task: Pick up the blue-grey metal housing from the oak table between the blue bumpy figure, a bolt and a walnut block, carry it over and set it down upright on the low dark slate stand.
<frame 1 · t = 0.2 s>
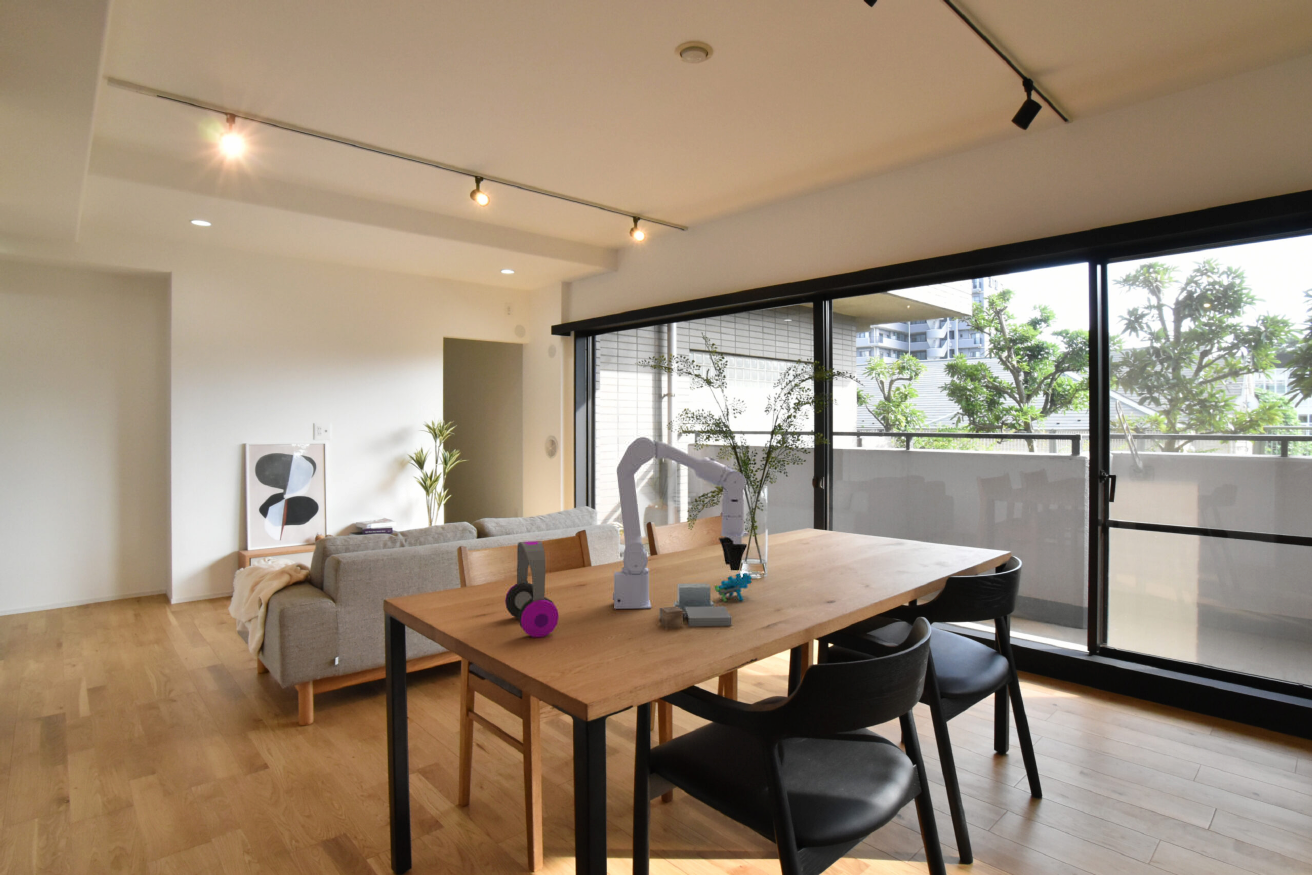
hand: (732, 567, 179), 10 cm above the table, tool pointing down, fingers open, 7 cm apart
bolt: (674, 619, 165), on the table
headphones: (530, 627, 159), on the table
housing: (693, 608, 175), on the table
stand: (707, 620, 165), on the table
blue bumpy figure: (733, 599, 186), on the table
walnut block: (671, 626, 160), on the table
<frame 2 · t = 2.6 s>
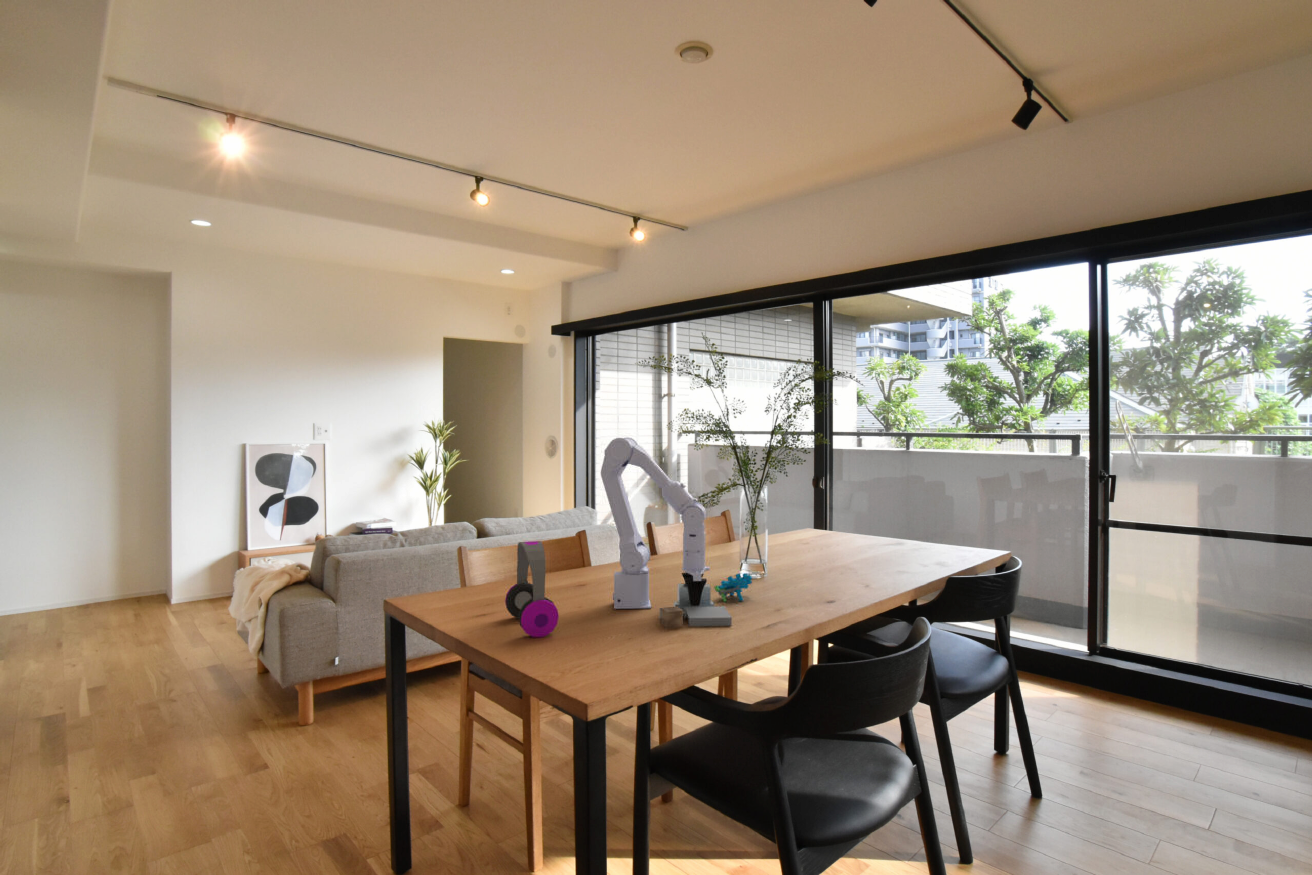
hand: (693, 602, 175), 1 cm above the table, tool pointing down, fingers closed on housing, 4 cm apart
housing: (693, 608, 175), on the table, touching gripper
everything else where it was.
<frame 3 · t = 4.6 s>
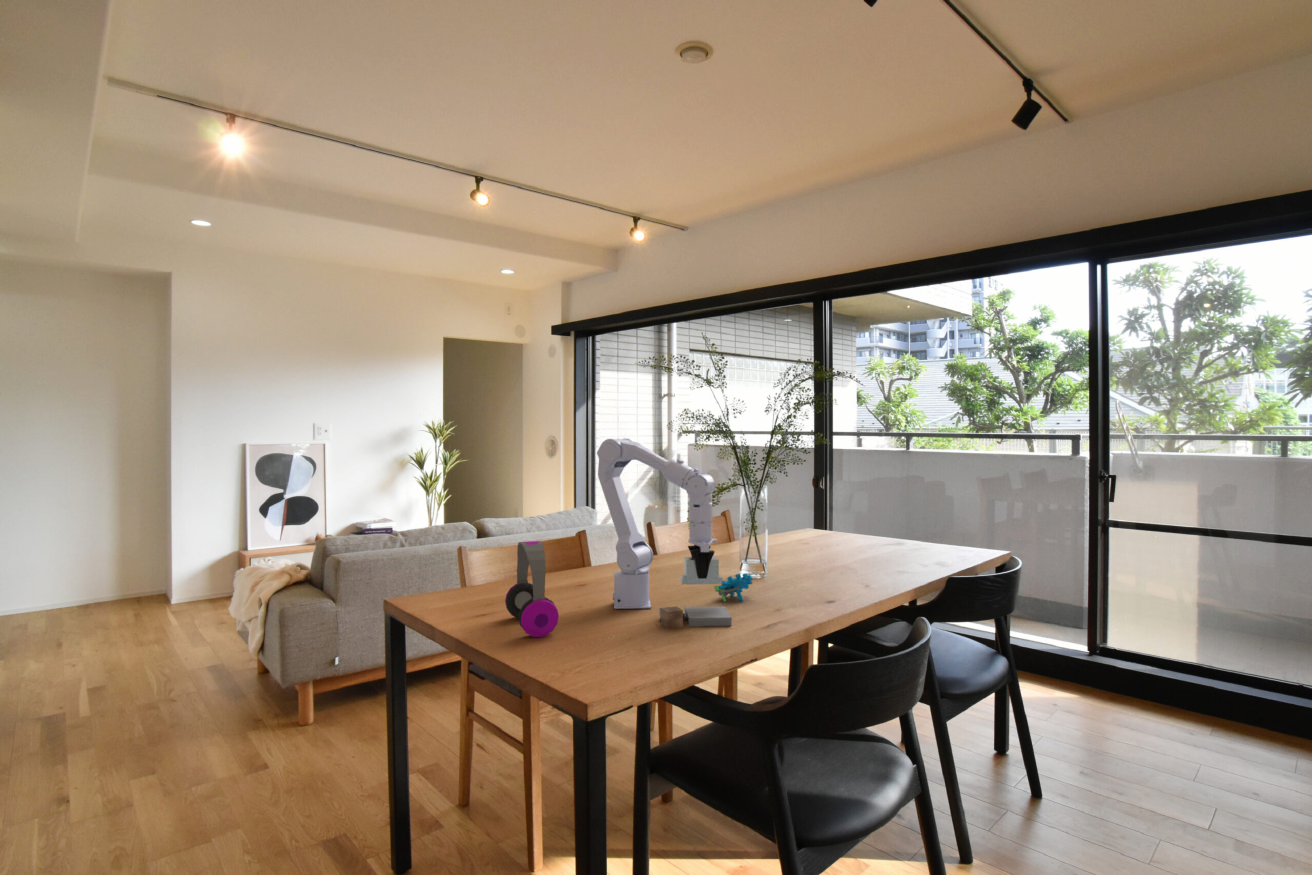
hand: (700, 576, 170), 9 cm above the table, tool pointing down, fingers closed on housing, 4 cm apart
housing: (701, 582, 170), point 8 cm above the table, touching gripper
everything else where it was.
when the fingers open (4 cm above the table, at t = 6.7 s): housing stays where it is, resting on stand.
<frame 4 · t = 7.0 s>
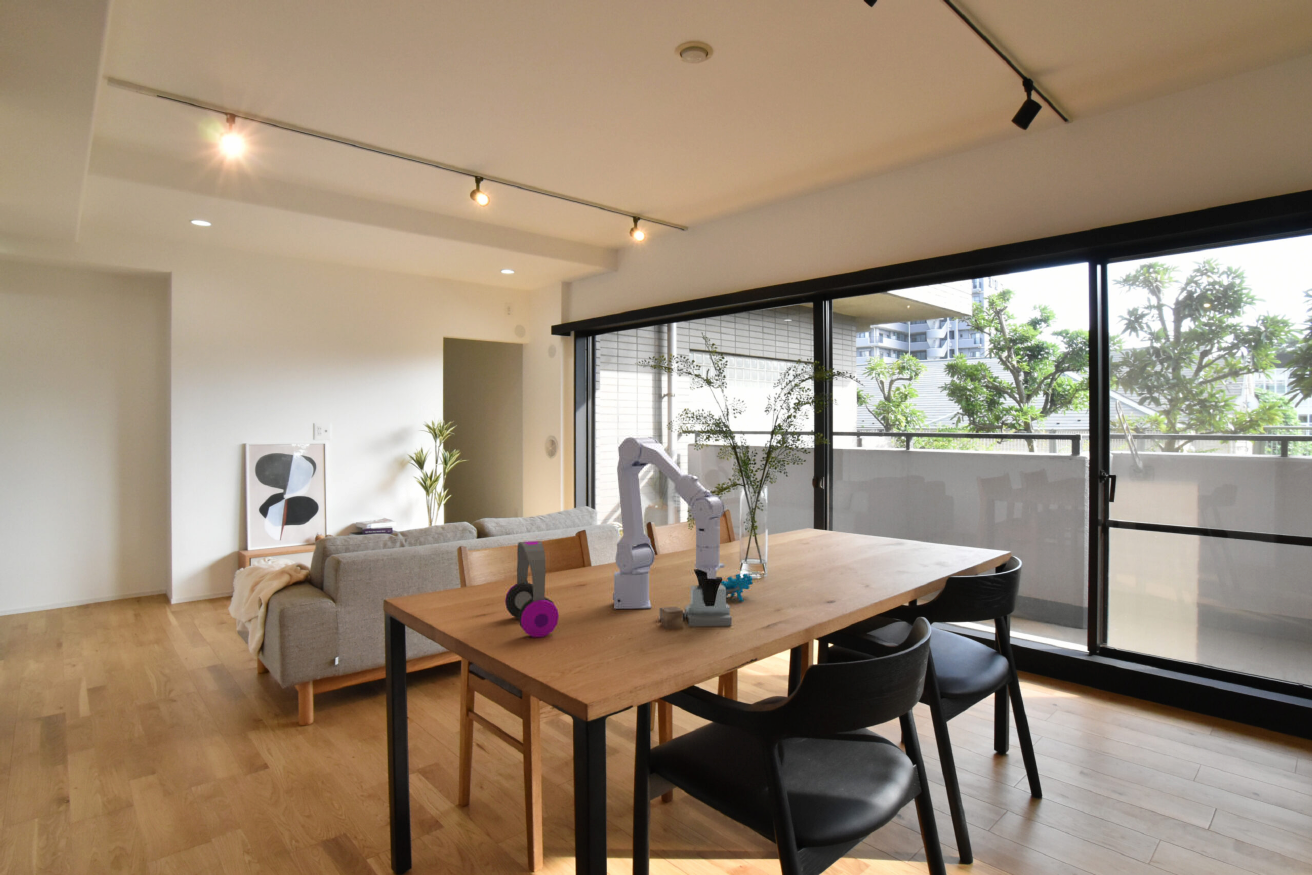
hand: (707, 602, 164), 4 cm above the table, tool pointing down, fingers open, 6 cm apart
housing: (708, 611, 164), point 2 cm above the table, touching stand
everything else where it was.
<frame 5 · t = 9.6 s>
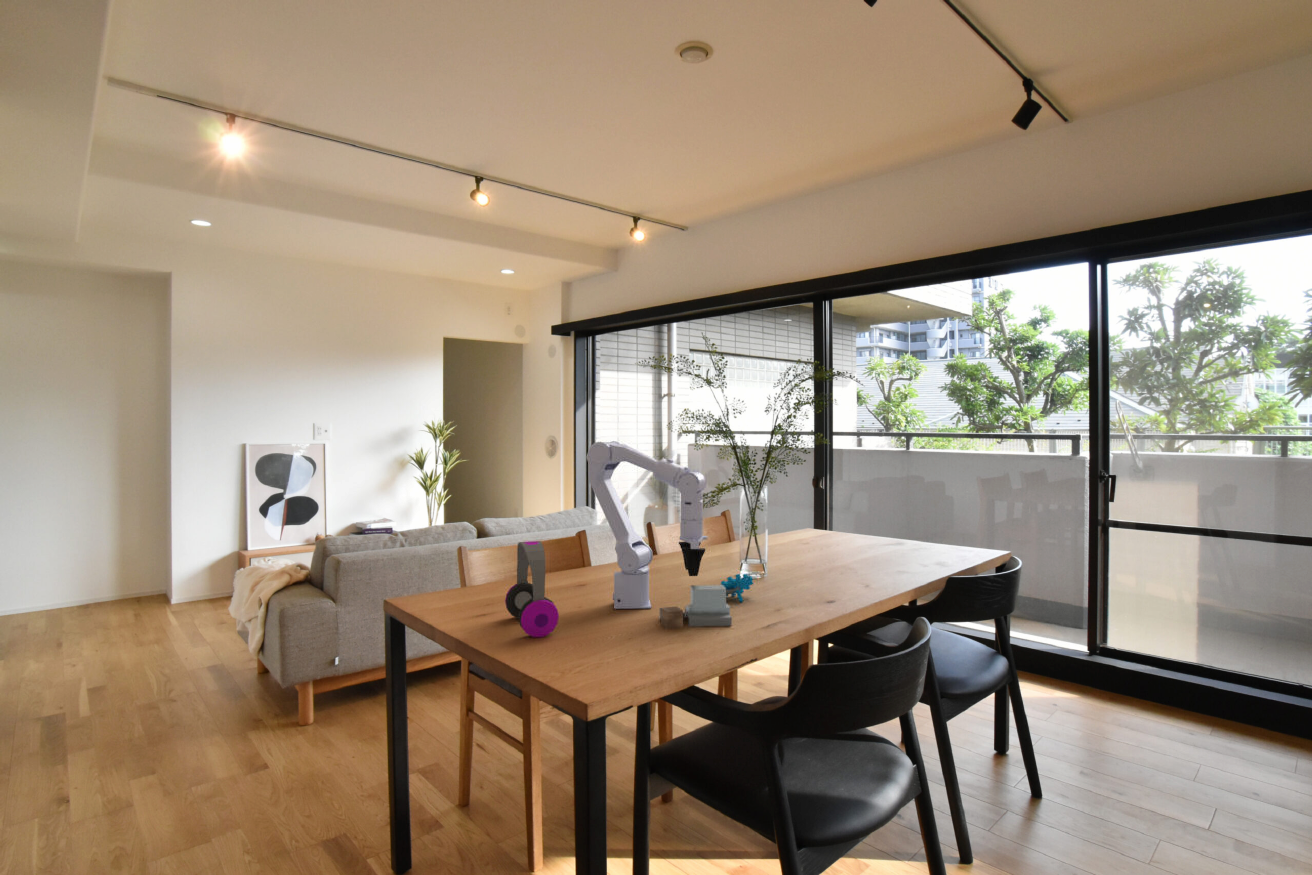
hand: (691, 572, 172), 10 cm above the table, tool pointing down, fingers open, 7 cm apart
nothing on the table moved.
at the end: housing inside the target area on the stand (0.2 cm from its centre), point 2.0 cm above the stand's base; housing tilted 0°; the gripper is holding nothing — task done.
